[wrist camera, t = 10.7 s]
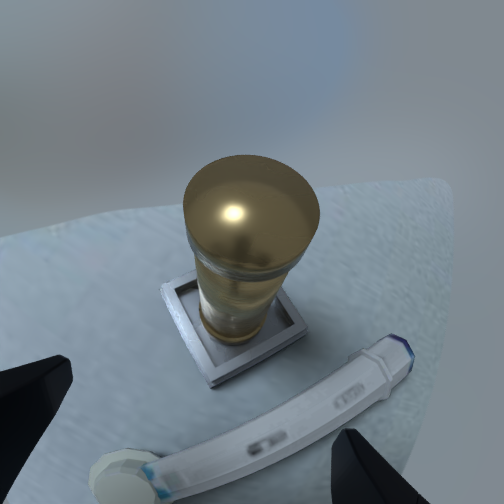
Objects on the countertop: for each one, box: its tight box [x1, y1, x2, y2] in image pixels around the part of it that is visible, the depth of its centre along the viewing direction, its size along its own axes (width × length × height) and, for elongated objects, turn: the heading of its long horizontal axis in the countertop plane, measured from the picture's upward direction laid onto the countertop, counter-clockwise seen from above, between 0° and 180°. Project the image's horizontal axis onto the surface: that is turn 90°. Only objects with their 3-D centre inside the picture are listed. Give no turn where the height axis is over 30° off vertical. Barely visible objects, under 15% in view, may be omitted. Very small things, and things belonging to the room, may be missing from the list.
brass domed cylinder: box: [183, 155, 320, 345], centre depth 16 cm, size 5×5×13 cm
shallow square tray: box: [159, 269, 308, 388], centre depth 21 cm, size 8×8×2 cm
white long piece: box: [88, 333, 415, 504], centre depth 16 cm, size 5×7×25 cm
